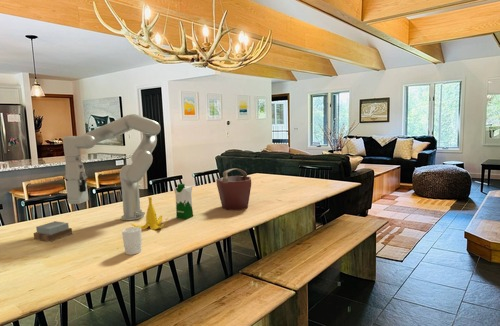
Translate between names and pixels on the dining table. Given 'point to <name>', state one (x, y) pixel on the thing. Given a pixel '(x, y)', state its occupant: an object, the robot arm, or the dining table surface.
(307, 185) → the dining table surface
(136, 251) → the white cup
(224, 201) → the bucket
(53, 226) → the tower top
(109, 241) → the dining table surface
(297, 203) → the dining table surface
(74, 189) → the supplement box
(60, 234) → the tower base
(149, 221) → the banana peel
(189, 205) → the milk carton
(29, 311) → the dining table surface
